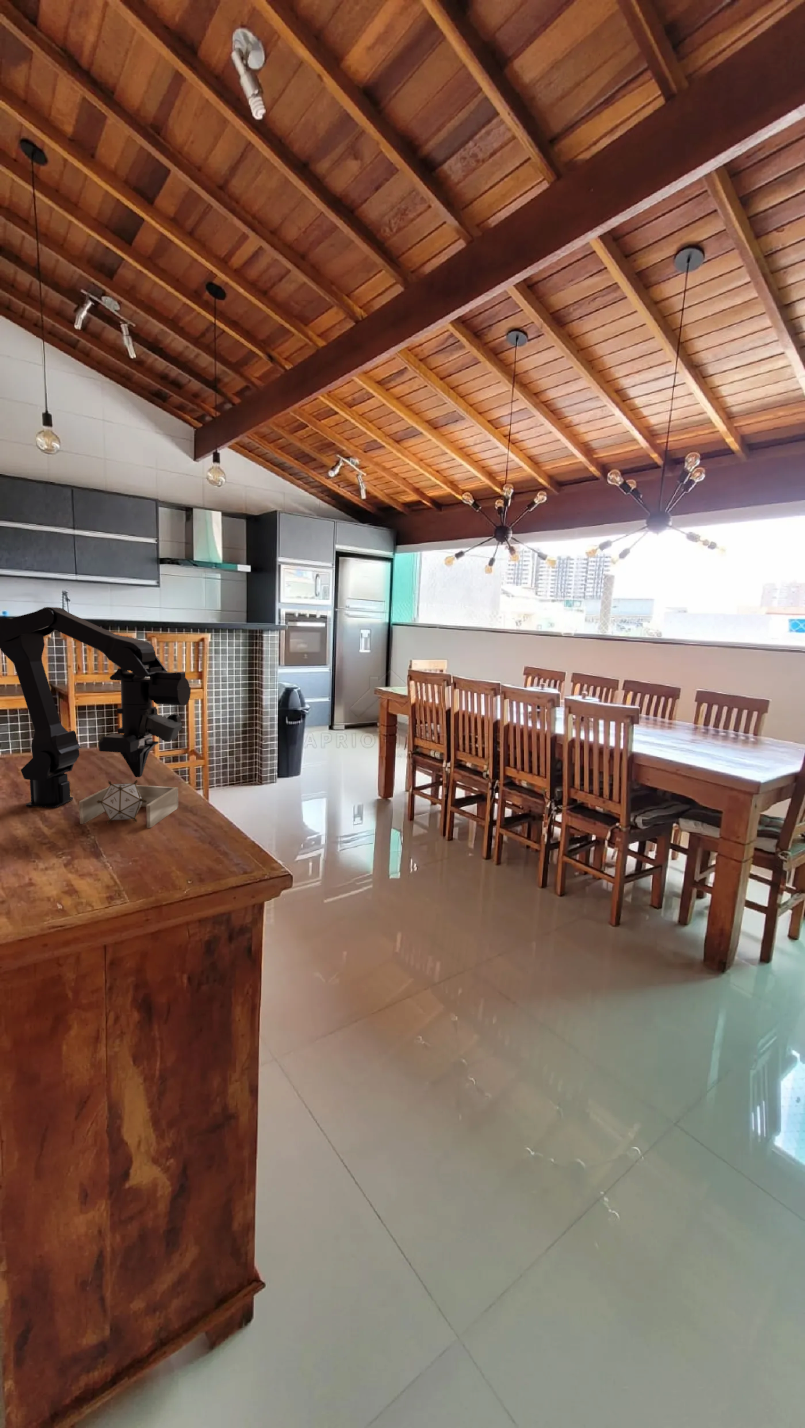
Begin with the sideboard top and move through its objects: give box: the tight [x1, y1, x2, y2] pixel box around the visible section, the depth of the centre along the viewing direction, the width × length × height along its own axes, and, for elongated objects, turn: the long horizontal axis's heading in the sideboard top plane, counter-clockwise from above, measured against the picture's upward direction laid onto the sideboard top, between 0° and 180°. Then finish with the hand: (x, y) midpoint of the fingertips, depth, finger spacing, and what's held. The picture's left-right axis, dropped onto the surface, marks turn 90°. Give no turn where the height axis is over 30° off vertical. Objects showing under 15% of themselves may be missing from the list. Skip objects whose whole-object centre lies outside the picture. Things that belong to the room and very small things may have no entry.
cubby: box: [78, 784, 179, 829], centre depth 119 cm, size 14×13×4 cm
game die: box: [97, 779, 147, 825], centre depth 115 cm, size 9×8×10 cm
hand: (138, 776), depth 121 cm, fingers closed
